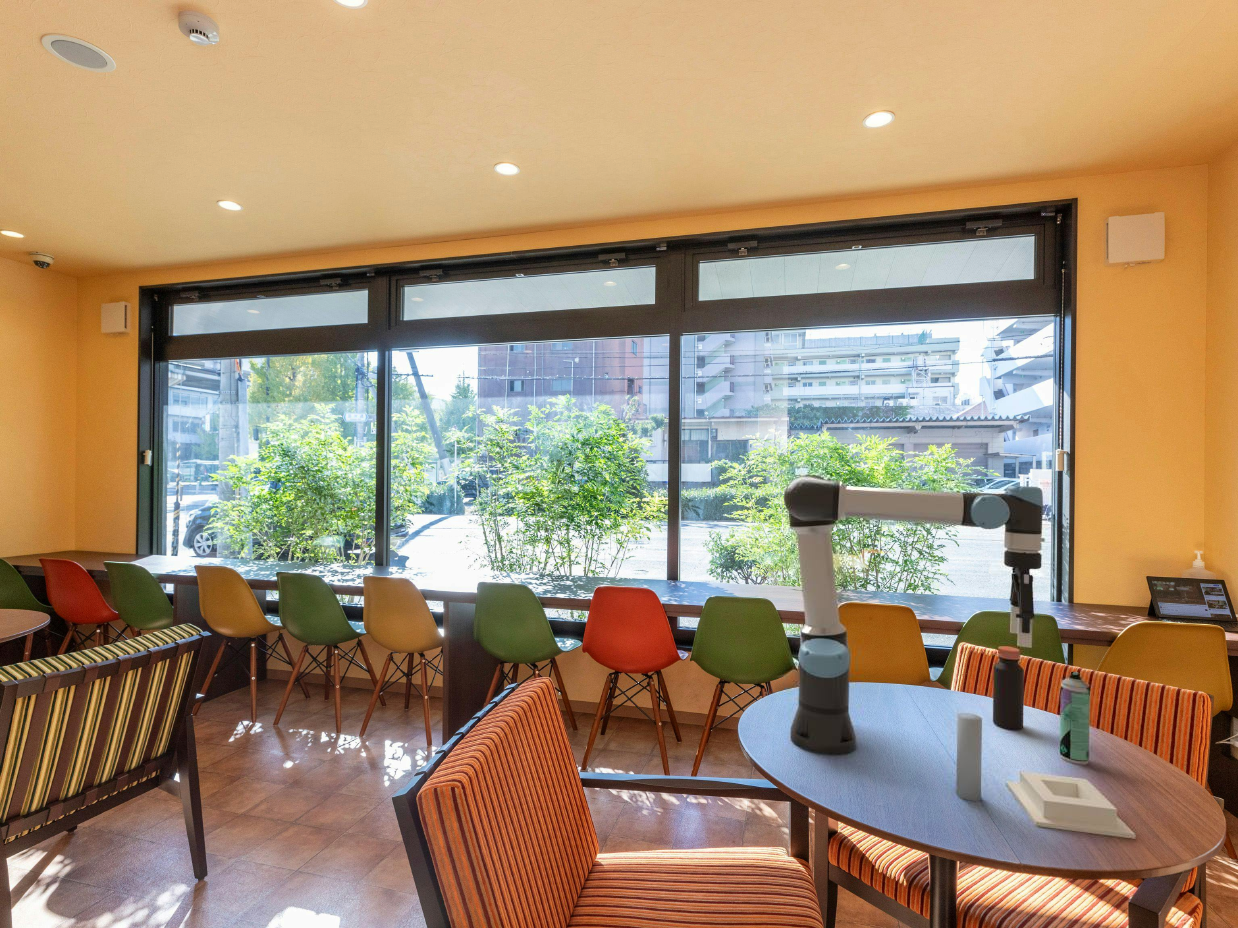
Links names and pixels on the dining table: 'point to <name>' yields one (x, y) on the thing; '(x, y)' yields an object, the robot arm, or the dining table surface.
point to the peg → (969, 756)
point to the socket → (1067, 804)
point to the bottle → (1008, 689)
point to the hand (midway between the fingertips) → (1020, 639)
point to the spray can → (1074, 720)
